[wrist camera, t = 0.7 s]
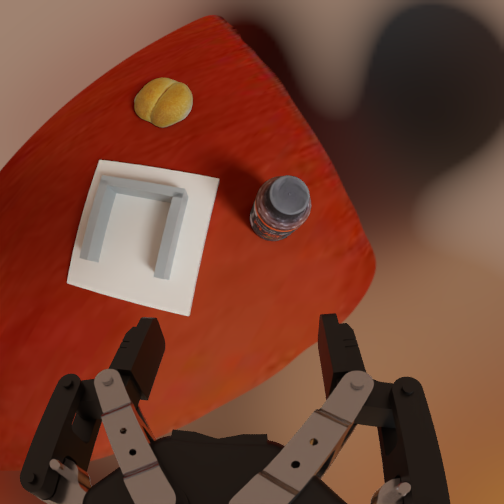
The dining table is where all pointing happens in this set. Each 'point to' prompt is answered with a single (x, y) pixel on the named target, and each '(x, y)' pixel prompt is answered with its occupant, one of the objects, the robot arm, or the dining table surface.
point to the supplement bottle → (280, 207)
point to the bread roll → (163, 102)
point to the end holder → (143, 235)
